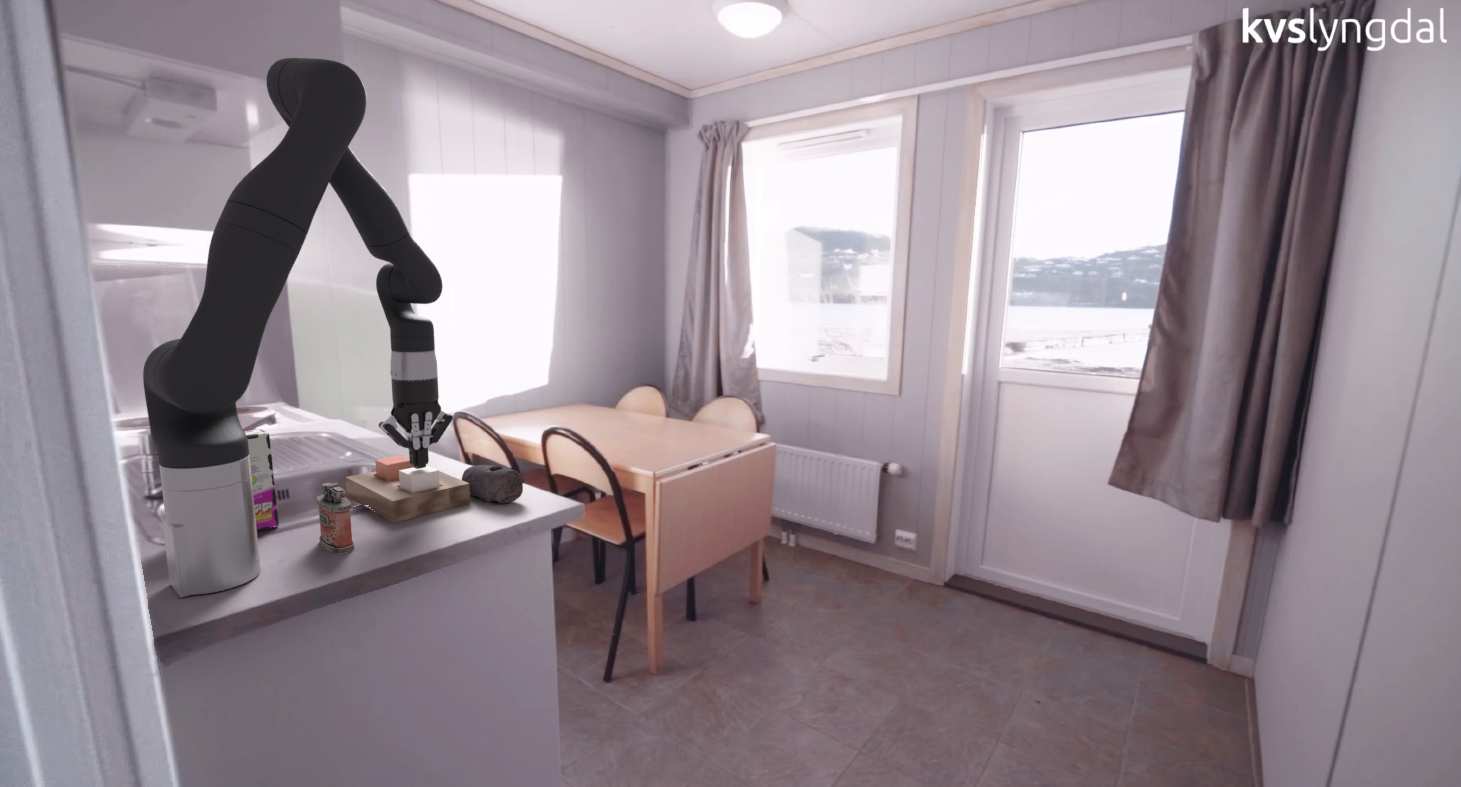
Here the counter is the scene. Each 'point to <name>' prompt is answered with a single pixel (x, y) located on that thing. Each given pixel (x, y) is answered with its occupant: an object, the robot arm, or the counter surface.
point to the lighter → (335, 519)
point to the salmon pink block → (391, 467)
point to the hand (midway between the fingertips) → (419, 467)
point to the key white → (418, 479)
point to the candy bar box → (262, 479)
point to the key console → (406, 496)
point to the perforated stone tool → (493, 483)
